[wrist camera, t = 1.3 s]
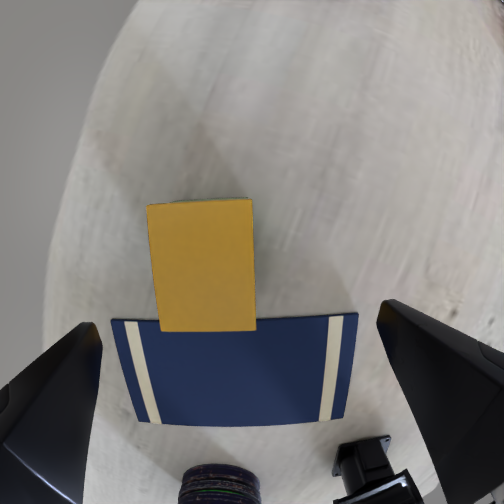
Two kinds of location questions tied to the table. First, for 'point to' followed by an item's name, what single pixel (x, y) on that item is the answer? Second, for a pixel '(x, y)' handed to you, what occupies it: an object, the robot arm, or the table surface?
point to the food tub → (203, 264)
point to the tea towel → (239, 371)
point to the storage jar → (219, 485)
